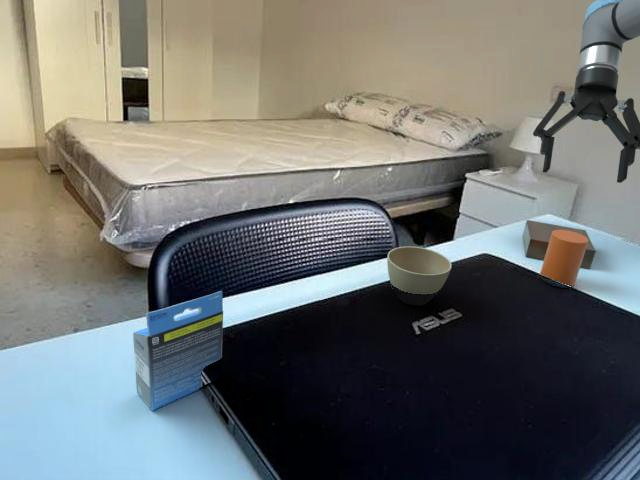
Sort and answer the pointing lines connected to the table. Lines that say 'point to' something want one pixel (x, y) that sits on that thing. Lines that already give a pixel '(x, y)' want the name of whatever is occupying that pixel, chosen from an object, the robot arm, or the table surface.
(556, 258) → the orange drum
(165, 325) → the label tape box
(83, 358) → the table surface
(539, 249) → the grey shallow square box
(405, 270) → the beige bowl
